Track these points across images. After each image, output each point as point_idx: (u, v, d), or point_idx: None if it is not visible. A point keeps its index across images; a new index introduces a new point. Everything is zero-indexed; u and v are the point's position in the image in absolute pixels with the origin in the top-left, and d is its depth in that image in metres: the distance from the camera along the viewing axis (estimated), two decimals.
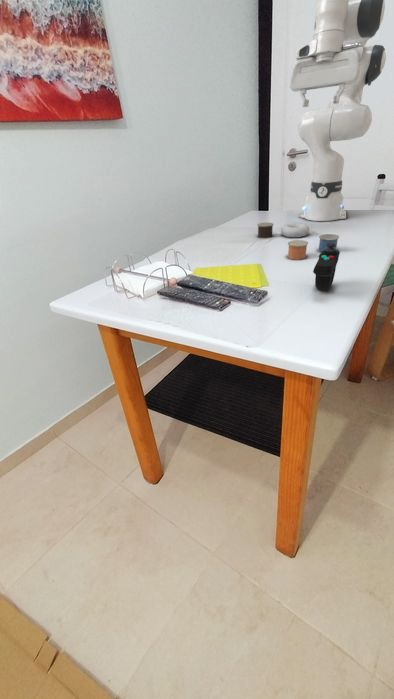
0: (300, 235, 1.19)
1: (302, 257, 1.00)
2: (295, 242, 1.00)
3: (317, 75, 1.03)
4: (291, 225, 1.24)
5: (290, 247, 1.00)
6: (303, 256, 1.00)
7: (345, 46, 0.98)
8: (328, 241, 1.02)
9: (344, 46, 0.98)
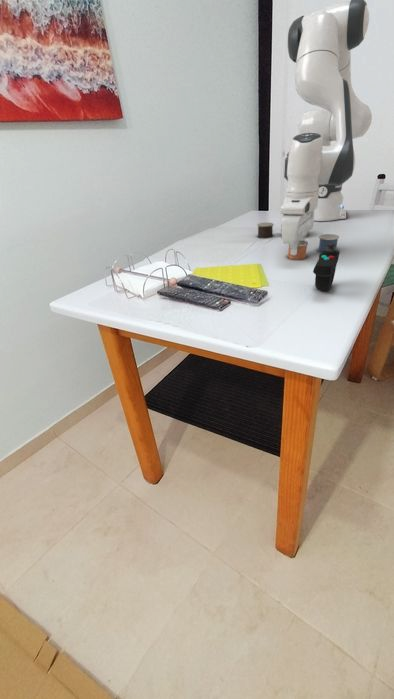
0: None
1: (302, 257, 1.00)
2: None
3: (304, 227, 0.96)
4: None
5: None
6: (303, 256, 1.00)
7: None
8: (328, 241, 1.02)
9: None
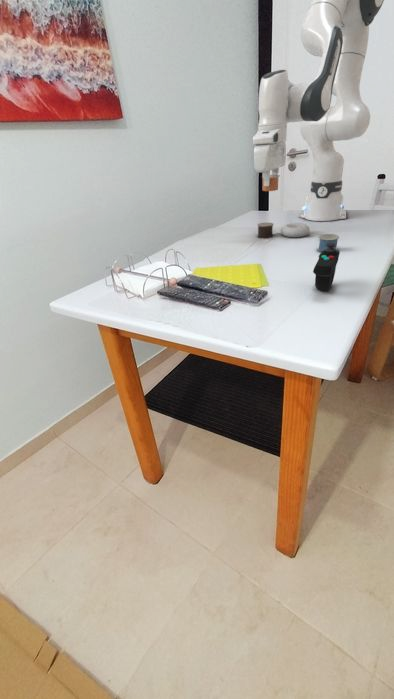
0: (300, 235, 1.19)
1: (274, 189, 1.12)
2: None
3: (274, 159, 1.08)
4: (291, 225, 1.24)
5: (263, 180, 1.12)
6: (275, 188, 1.12)
7: None
8: (328, 241, 1.02)
9: None
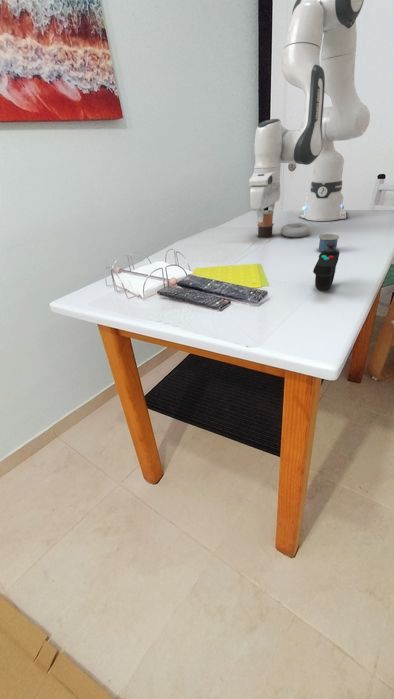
0: (300, 235, 1.19)
1: (269, 224, 1.21)
2: None
3: (269, 197, 1.17)
4: (291, 225, 1.24)
5: None
6: (270, 223, 1.21)
7: None
8: (328, 241, 1.02)
9: None
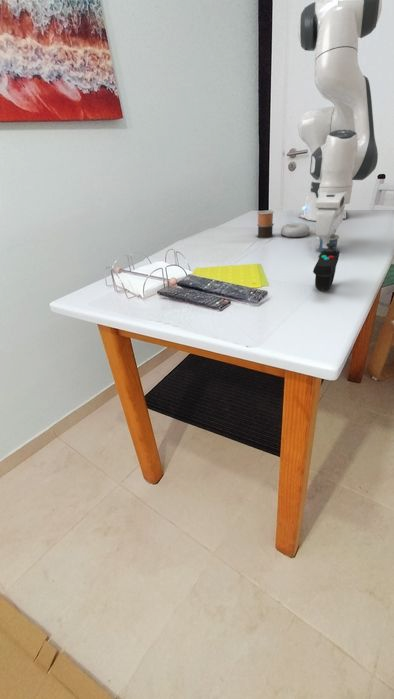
0: (300, 235, 1.19)
1: (269, 224, 1.21)
2: (263, 211, 1.21)
3: (336, 221, 0.99)
4: (291, 225, 1.24)
5: (259, 215, 1.21)
6: (270, 223, 1.21)
7: None
8: None
9: None
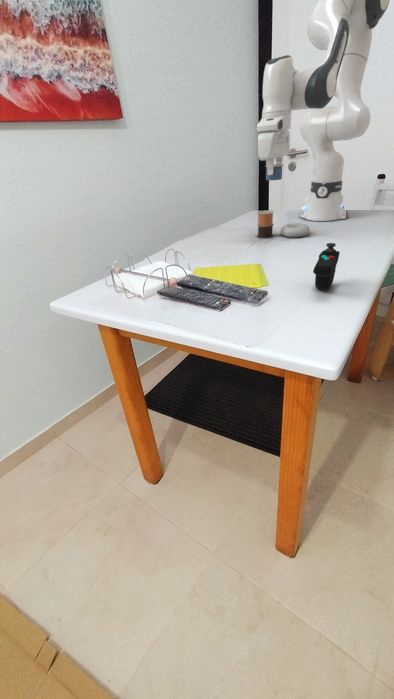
0: (300, 235, 1.19)
1: (269, 224, 1.21)
2: (263, 211, 1.21)
3: (279, 147, 1.06)
4: (291, 225, 1.24)
5: (259, 215, 1.21)
6: (270, 223, 1.21)
7: None
8: None
9: None
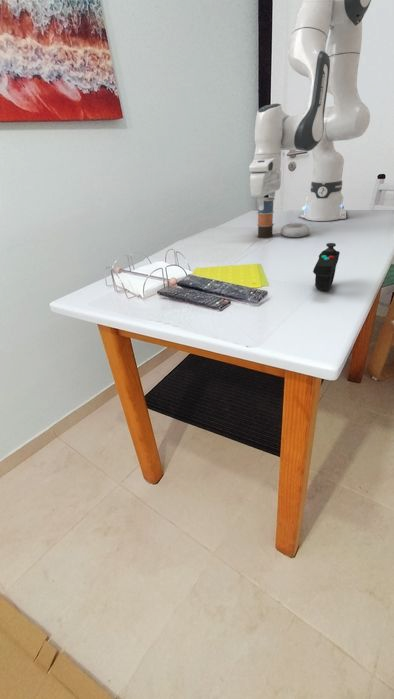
0: (300, 235, 1.19)
1: (269, 224, 1.21)
2: None
3: (270, 185, 1.14)
4: (291, 225, 1.24)
5: (259, 215, 1.21)
6: (270, 223, 1.21)
7: None
8: (264, 202, 1.17)
9: None
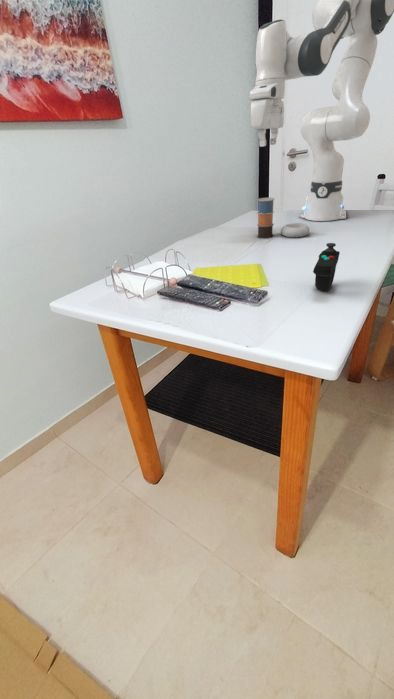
0: (300, 235, 1.19)
1: (269, 224, 1.21)
2: None
3: (272, 117, 1.04)
4: (291, 225, 1.24)
5: (259, 215, 1.21)
6: (270, 223, 1.21)
7: None
8: (264, 202, 1.17)
9: None
